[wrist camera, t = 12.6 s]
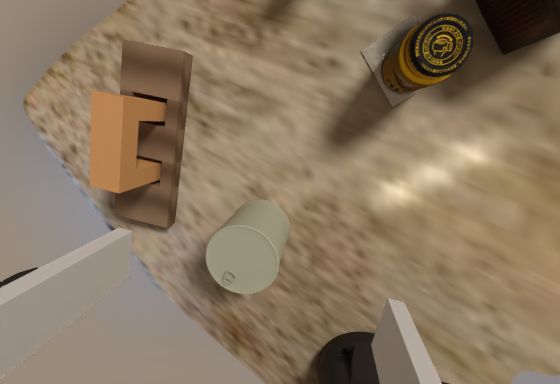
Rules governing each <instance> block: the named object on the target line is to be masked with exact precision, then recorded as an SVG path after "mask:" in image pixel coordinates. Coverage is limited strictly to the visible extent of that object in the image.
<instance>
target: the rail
mask: <svg viewBox="0 0 560 384" xmlns="http://www.w3.org/2000/svg"><path fill="white" fill-rule="evenodd" d="M192 57H193V56H192V55H190V54H188V53H186V52H184V51H179V50H174V49H169V48H164V47H159V46H154V45H148V44H143V43H138V42H133V41H128V40H123V45H122V67H121V89H120V95H125V96H132V97H138V98H143V94H147V95H152V96H156V97H161V98H166V99H167V108H166V119H165V125H161V124H157V123H152V122H148V121H139V126H138V142H137V158H139V156H142V157H147V158H151V159H155V160H160V161H162V165H161V176H160V181H154V182H151V183H148V184H145V185H142V186H139V187H136V188H133V189H131V190H128V191H125V192H122V193H116V199H115V215H118V216H122V217H126V218H130V219H134V220H138V221H142V222H145V223H149V224H153V225H157V226H161V227H165V228H167V227H169V226H170V225H172V224H173V223H175V215H176V206H177V197H178V187H179V178H180V169H181V160H182V150H183V141H184V132H185V122H186V113H187V104H188V95H189V85H190V76H191V67H192Z"/></svg>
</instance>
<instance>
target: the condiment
mask: <svg viewBox="0 0 560 384" xmlns="http://www.w3.org/2000/svg"><path fill="white" fill-rule="evenodd" d="M472 47H473V31H472V28H471V27H470V25H469V23H468V22H467V20H465V19H464V18H463V17H461V16H459V15H457V14H451V13H450V14H447V13H443V14H438V15H435V16H432V17H431V18H429V19H428V20H426V21H424V22H422V23H420V24H419V22H418V20H417V18H416V16H415V14H414V15H412V16H411V17H409V18H408V19H407V20H405V21H404V22H402V23H401V24H400V25H398V26H397V27H395V28H394V29H393V30H391V31H390V32H388V33H387V34H385V35H384V36H383V37H381V38H380V39H378V40H377V41H375V42H374V43H372V44H371V45H370V46H368V47H367V48H365V49H364V50H362V51H361V52H362V54H363V55H364V57H365V59H366V61H367V63H368V64H369V66H370V68H371V70H372V71H373V73H374V75H375V77H376V79H377V81H378V82H379V84H380V86H381V88H382V89H383V91H384V93H385V95H386V97H387V98H388V100H389V102H390V104H391V105H392V107H395V106H396V105H398V104H399V103H401V102H403V101H404V100H406V99H407V98H409V97H411V96H412V95H414V94H415V93H417V92H419V91H420V90H422V89H423V88H425V87H428V86H430V85H434V84H436V83H438V82H440V81H442V80H444V79H446V78H447V77H448V76H449V75H451V74H452V73H453V72H455V71H456V70H457V69H458V68H460V67H461V66H462V65H463V63H464V62H465V61H466V60H467V58H468V56H469V54H470V52H471V49H472ZM383 53H385V55H384V59H383V60H382V58H383Z"/></svg>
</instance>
